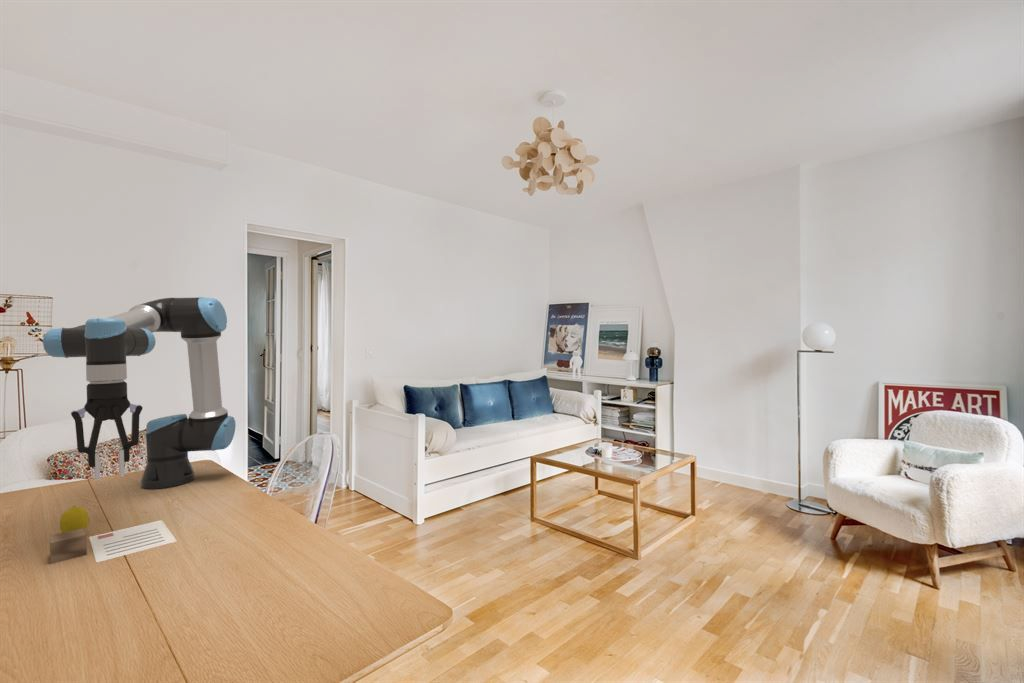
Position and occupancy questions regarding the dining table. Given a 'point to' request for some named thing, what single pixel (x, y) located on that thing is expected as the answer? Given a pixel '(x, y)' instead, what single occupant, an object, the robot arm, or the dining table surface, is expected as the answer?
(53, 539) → the walnut block
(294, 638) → the dining table surface
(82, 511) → the lemon
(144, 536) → the letter
